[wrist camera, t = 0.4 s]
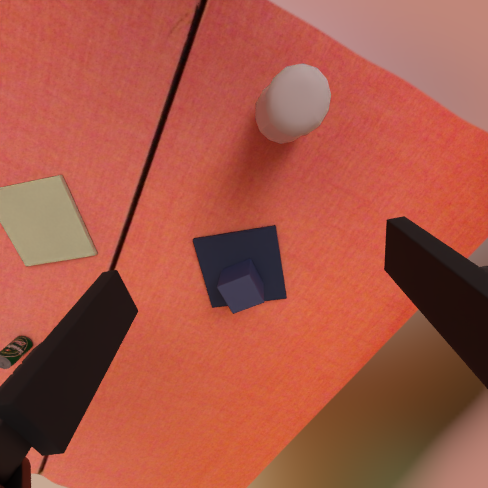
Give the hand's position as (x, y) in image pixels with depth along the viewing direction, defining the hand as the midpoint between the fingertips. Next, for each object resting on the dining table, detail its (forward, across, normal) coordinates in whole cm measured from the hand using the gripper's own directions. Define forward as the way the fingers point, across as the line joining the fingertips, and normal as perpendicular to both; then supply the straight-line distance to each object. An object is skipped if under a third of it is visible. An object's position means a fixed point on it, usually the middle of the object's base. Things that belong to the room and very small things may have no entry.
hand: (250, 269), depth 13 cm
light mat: (+21, -28, -1) cm, 35 cm away
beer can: (+21, -42, -20) cm, 51 cm away
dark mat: (+20, -3, -12) cm, 23 cm away
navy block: (+19, -3, -13) cm, 23 cm away
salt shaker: (+21, +5, +6) cm, 22 cm away
